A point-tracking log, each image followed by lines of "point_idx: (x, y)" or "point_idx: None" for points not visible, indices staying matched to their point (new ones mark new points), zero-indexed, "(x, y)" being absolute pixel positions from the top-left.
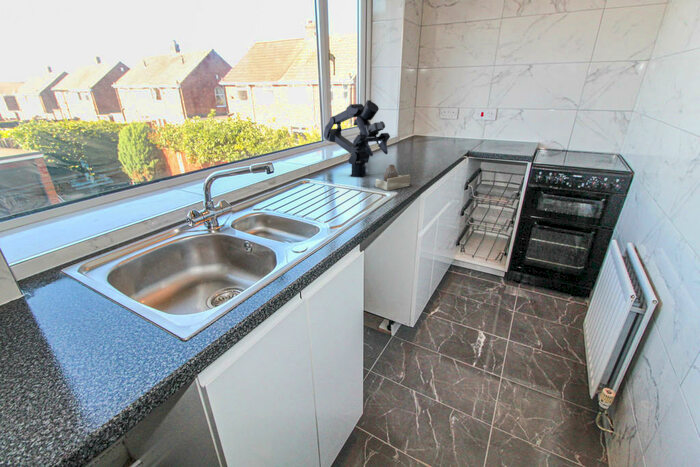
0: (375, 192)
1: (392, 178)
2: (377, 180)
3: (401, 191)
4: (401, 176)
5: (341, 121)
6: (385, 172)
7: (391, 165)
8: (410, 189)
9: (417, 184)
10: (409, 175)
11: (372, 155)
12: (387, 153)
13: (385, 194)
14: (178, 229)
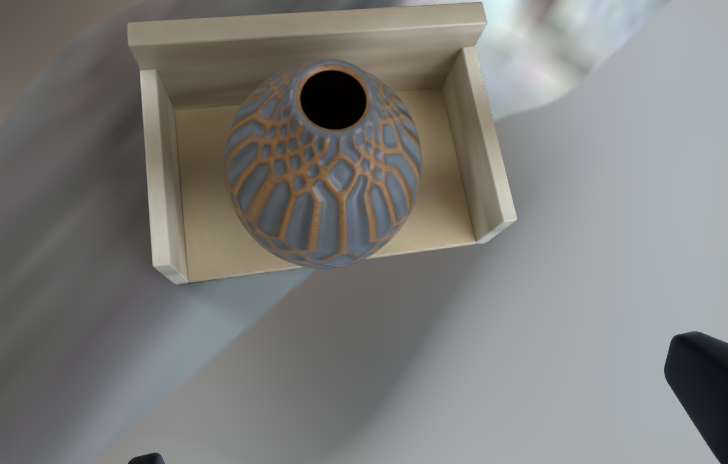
0: (566, 90)
1: (424, 6)
2: (505, 189)
3: (352, 3)
4: (279, 19)
5: None
6: (418, 156)
7: (307, 142)
8: (242, 6)
9: (51, 93)
10: (146, 24)
11: (676, 345)
12: (142, 460)
13: (517, 9)
14: None
